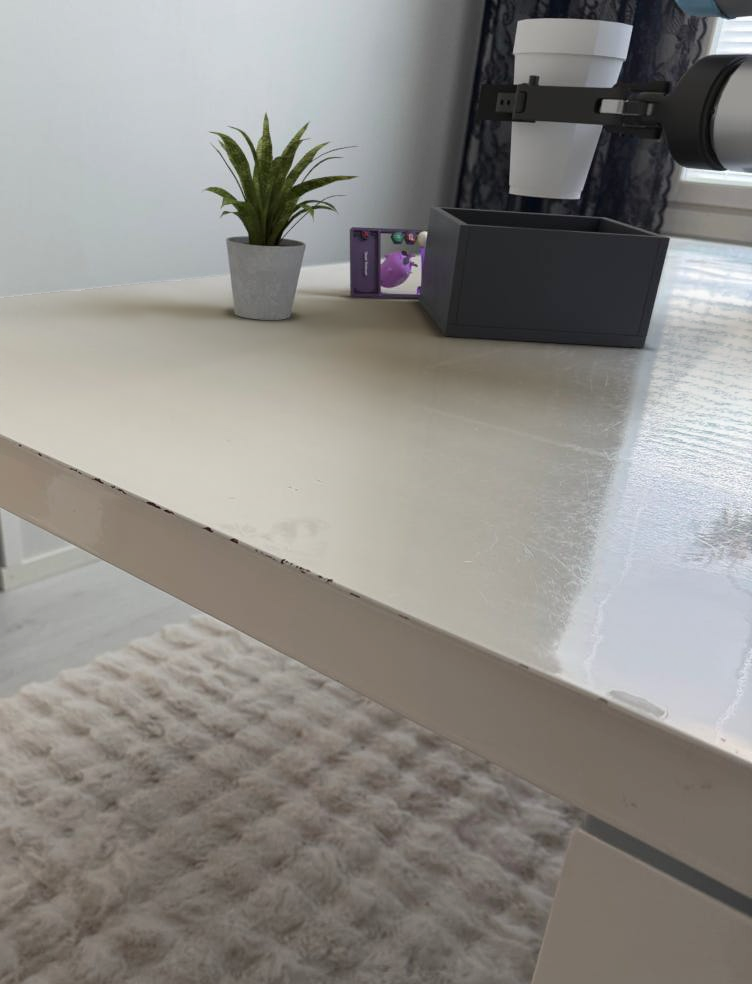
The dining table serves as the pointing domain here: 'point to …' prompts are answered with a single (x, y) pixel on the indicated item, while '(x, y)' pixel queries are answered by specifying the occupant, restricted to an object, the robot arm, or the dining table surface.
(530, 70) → the white flower pot
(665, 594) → the dining table surface
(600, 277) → the dark grey open box
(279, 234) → the house plant
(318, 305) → the dining table surface
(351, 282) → the purple cardboard box
